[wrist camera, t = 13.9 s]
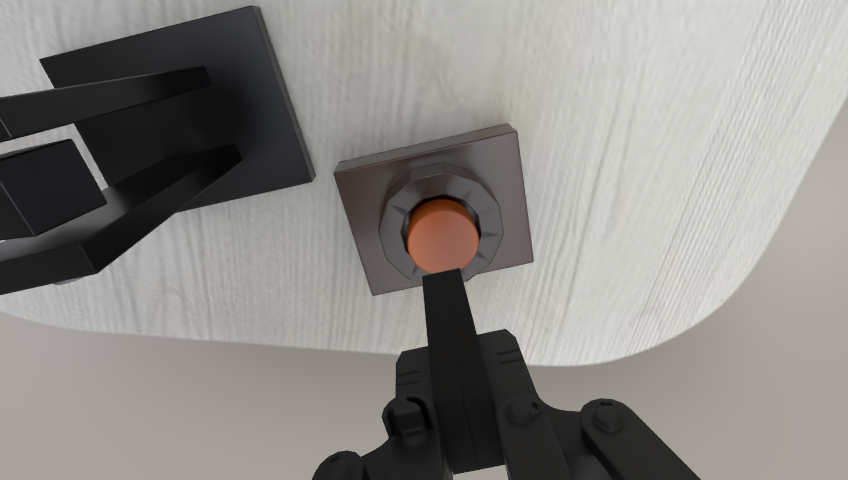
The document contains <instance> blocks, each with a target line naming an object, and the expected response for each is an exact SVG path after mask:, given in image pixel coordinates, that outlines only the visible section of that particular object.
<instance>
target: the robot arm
mask: <svg viewBox="0 0 848 480" xmlns="http://www.w3.org/2000/svg"><path fill="white" fill-rule="evenodd" d="M422 282H423V293H424V304H425V315H426V327H427V338H428V346H426V347H421V348H417V349H412V350H407V351H402V353H401V355H400V357H399V359H398V361H397V362H396V397H395V398H394V399H393V400H391V401H390V402H389V403H388V404H387V405H386V407H385V408H384V411H383V414H382V420H383V422H384V425H385V428H386V431H387V434H388V436H389V438H388V440H387V441H386V442H385V443H384V444H383V445H382V446H380V447H378V448H377V449H375V450H373V451H372V452H370V453H368V454H366V455H364V456H362V457H360V456H359V455H358V454H357V453H355V452H352V451H341V452H337V453H335V454H333V455H331V456H329V457H328V458H326V459H325V460H324V461H323V462H322V463H321V464H320V465H319V467H318V469H317V470H316V472H315V474H314V476H313V478H312V480H453V475H454V474H459V473H464V472H470V471H475V470H480V469H485V468H490V467H495V466H500V465H506V470H507V475H508V479H509V480H701V479H700V478H699V477H698V476H696V474H695V473H694V472H693V471H692V470H691V469H690V468H689V467H688V466H687V465H686V464H685V463H684V462H683V461H682V460H681V459H680V458H679V457H678V456H677V455H676V454H675V453H674V452H673V451H672V450H671V449H670V448H669V447H668V446H667V445H666V444H665V443H664V442H663V441H662V440H661V439H660V438H659V437H658V436H657V435H656V434H655V433H654V432H653V431H652V430H651V429H650V428H649V427H648V426H647V425H646V424H645V423H644V422H643V421H642V420H641V419H640V418H639V417H638V416H637V415H636V414H635V413H634V412H633V411H632V410H631V409H630V408H629V407H627V406H626V405H625V404H623V403H621V402H618V401H615V400H613V399H602V398H601V399H596V400H593V401H590V402H588V403H587V404H585V405H584V406H583V408H582V409H581V411H580V412H575V411H565V410H559V409H555V408H553V407H550V406H549V405H547V404H546V403H544V402H543V401H542V400H541V399H540V398H539V396H538V394H537V393H536V390H535V387H534V385H533V382H532V380H531V377H530V374H529V372H528V369H527V366H526V364H525V361H524V359H523V356H522V353H521V351H520V348H519V345H518V343H517V340H516V337H515V336H513V335H512V334H511V333H510V332H509V331H508V330H506V329H503V330H498V331H493V332H488V333H483V334H479V335H477V334H476V330H475V326H474V322H473V318H472V314H471V310H470V306H469V302H468V298H467V294H466V290H465V286H464V282H463V278H462V275H461V271H460V268H456V269H452V270H447V271H442V272H438V273H433V274H429V275H424V276H422ZM452 471H453V474H452Z"/></svg>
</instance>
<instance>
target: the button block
mask: <svg viewBox="0 0 848 480" xmlns="http://www.w3.org/2000/svg"><path fill="white" fill-rule="evenodd" d="M334 177H335V180H336V183H337V187H338V190H339V193H340V196H341V199H342V202H343V205H344V209H345V212H346V215H347V218H348V221H349V224H350V227H351V230H352V234H353V237H354V240H355V243H356V246H357V249H358V252H359V256H360V259H361V262H362V265H363V268H364V271H365V274H366V278H367V281H368V284H369V287H370V290H371V293H372V295H373V296H375V295H380V294H384V293H389V292H394V291H399V290H404V289H408V288H413V287H418V286H423V282H422V276H424V275H429V274H432V273H429V272H427V271H425V270H423V269H421V268H420V267H419V266H417V265H416V263H415V262H414V261H413V260H412V258H411V256H410V254H409V251H408V235H407V230H408V224H409V220H410V218H411V216H412V215H413V213H414V212H415V211H416V210H417V209H418V208H419V207H420V206H422V205H423V204H425V203H427V202H429V201H433V200H438V199H446V200H452V201H455V202H457V203H459V204H461V205H462V206H464V207H465V208H466V209H467V210H468V212H469V213H470V215H471V216H472V219H473V221H474V224H475V227H476V229H477V232H478V236H479V246H478V250H477V253H476V255H475V257H474V258H473V260H472V261H471V262H470V263H469V264H468V265H467V266H466V267H465V268H463V269H462V270H460V271H461V275H462V278H463V282H466V281H468V280H470V279H471V278H472V277H474V276H475V275H476V274H480V273H484V272H489V271H494V270H499V269H503V268H508V267H513V266H518V265H523V264H527V263H532V262H534V258H533V251H532V243H531V235H530V227H529V220H528V212H527V204H526V196H525V189H524V181H523V173H522V165H521V158H520V150H519V142H518V134H517V131H516V130H515V129H514V128H512V127H511V126H510V125H509V124H504V125H500V126H495V127H491V128H487V129H482V130H478V131H474V132H469V133H465V134H460V135H456V136H452V137H447V138H443V139H439V140H434V141H430V142H425V143H421V144H417V145H412V146H408V147H404V148H399V149H395V150H391V151H386V152H382V153H377V154H373V155H369V156H364V157H360V158H356V159H351V160H347V161H343V162H339V163H338V165H337V167H336V169H335V171H334Z"/></svg>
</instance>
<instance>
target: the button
mask: <svg viewBox="0 0 848 480" xmlns="http://www.w3.org/2000/svg"><path fill="white" fill-rule="evenodd" d="M407 235H408V251H409V254H410V256H411V258H412V260H413V261H414V262H415V263H416V265H417V266H419V267H420V268H421V269H423V270H425V271H427V272H429V273H432V274H433V273H438V272H442V271H447V270H452V269H456V268H460V270H462V269H463V268H465V267H466V266H467V265H468V264H469V263H470V262H471V261H472V260H473V258H474V257H475V255H476V253H477V250H478V246H479V236H478V232H477V229H476V227H475V224H474V221H473V219H472V216H471V215H470V213H469V212H468V210H467V209H466V208H465V207H464V206H462V205H461V204H459V203H457V202H455V201H452V200H446V199H438V200H433V201H429V202H427V203H425V204H423V205H422V206H420V207H419V208H418V209H417V210H416V211H415V212H414V213H413V215H412V216H411V218H410V220H409V224H408V230H407Z"/></svg>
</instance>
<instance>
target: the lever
mask: <svg viewBox="0 0 848 480" xmlns="http://www.w3.org/2000/svg"><path fill="white" fill-rule="evenodd" d="M106 204H107V200H106V199H105V197H104V195H103V193H102V192H101V190H100V188H99V186H98V184H97V183H96V181H95V179H94V177H93V176H92V174H91V172H90V170H89V168H88V167H87V165H86V163H85V161H84V159H83V158H82V156H81V154H80V152H79V151H78V149H77V147H76V145H75V143H74V142H73V140H72V139H66V140H62V141H57V142H52V143H48V144H43V145H39V146H34V147H30V148H25V149H20V150H16V151H12V152H8V153H5V154H1V155H0V240H9V239H18V238H27V237H35V236H38V235H41V234H43V233H45V232H47V231H49V230H52V229H54V228H56V227H58V226H60V225H63V224H65V223H67V222H69V221H71V220H73V219H76V218H78V217H80V216H82V215H84V214H87V213H89V212H91V211H93V210H95V209H97V208H100V207H102V206H104V205H106Z"/></svg>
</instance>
